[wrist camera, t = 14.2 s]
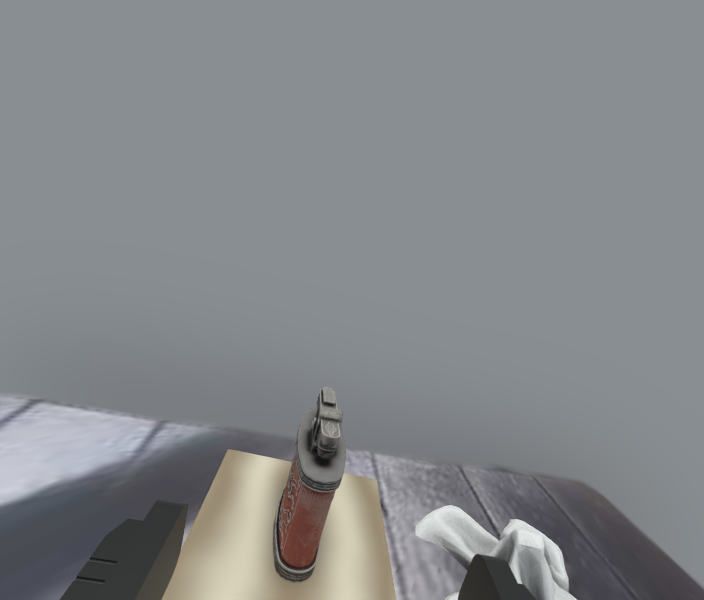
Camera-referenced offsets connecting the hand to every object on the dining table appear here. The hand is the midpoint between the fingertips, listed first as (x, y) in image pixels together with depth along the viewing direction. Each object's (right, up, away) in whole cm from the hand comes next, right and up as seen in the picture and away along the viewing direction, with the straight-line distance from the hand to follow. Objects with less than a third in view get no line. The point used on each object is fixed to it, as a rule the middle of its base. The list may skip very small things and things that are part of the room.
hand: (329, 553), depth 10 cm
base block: (-5, -14, +17) cm, 22 cm away
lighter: (-4, -10, +17) cm, 20 cm away
